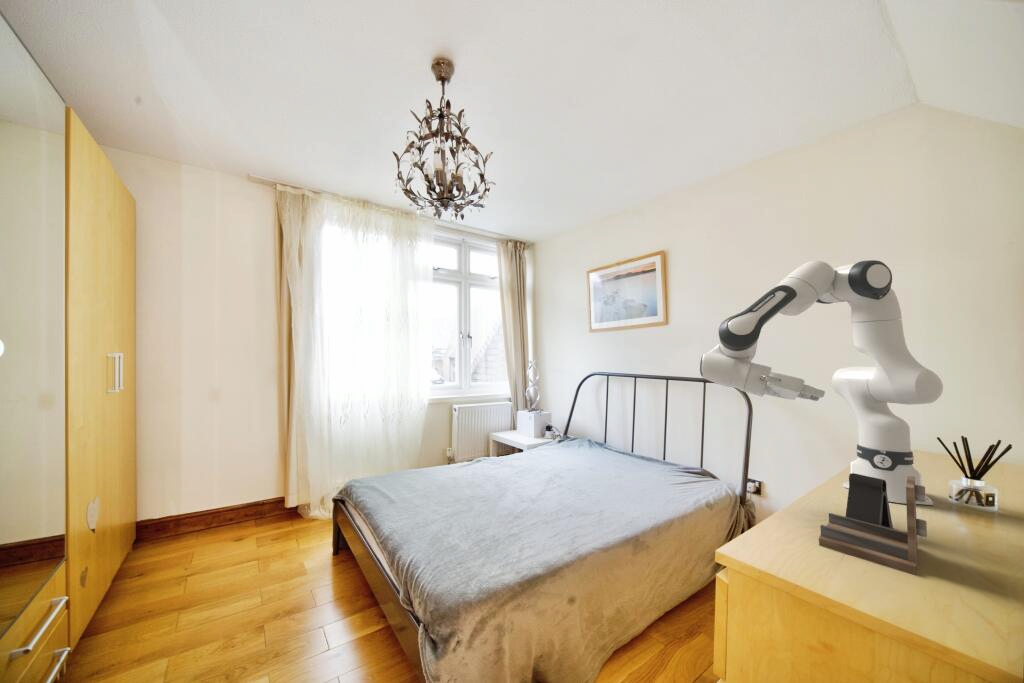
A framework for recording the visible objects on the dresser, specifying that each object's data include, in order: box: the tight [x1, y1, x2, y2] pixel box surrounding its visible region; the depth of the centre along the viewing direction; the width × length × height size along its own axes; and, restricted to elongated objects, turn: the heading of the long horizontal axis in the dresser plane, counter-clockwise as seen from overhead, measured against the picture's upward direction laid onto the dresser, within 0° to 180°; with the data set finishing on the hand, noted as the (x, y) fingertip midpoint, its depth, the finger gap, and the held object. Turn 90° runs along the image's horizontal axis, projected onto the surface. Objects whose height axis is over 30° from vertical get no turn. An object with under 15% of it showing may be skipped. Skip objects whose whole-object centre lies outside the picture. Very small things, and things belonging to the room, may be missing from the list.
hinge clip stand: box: [818, 476, 928, 576], centre depth 77 cm, size 15×15×16 cm
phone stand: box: [845, 472, 894, 529], centre depth 88 cm, size 9×6×12 cm, turn 118°
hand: (821, 396), depth 96 cm, fingers open, 8 cm apart
